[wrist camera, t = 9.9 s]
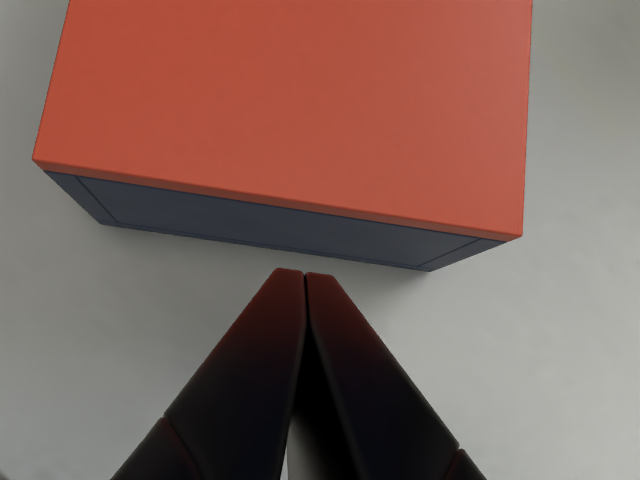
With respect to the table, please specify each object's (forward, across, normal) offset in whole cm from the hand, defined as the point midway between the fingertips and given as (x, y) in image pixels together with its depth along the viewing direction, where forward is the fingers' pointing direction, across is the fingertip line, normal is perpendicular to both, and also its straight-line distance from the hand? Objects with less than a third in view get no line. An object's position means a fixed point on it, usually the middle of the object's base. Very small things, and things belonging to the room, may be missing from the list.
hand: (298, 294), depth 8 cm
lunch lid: (+12, 0, -3) cm, 12 cm away
